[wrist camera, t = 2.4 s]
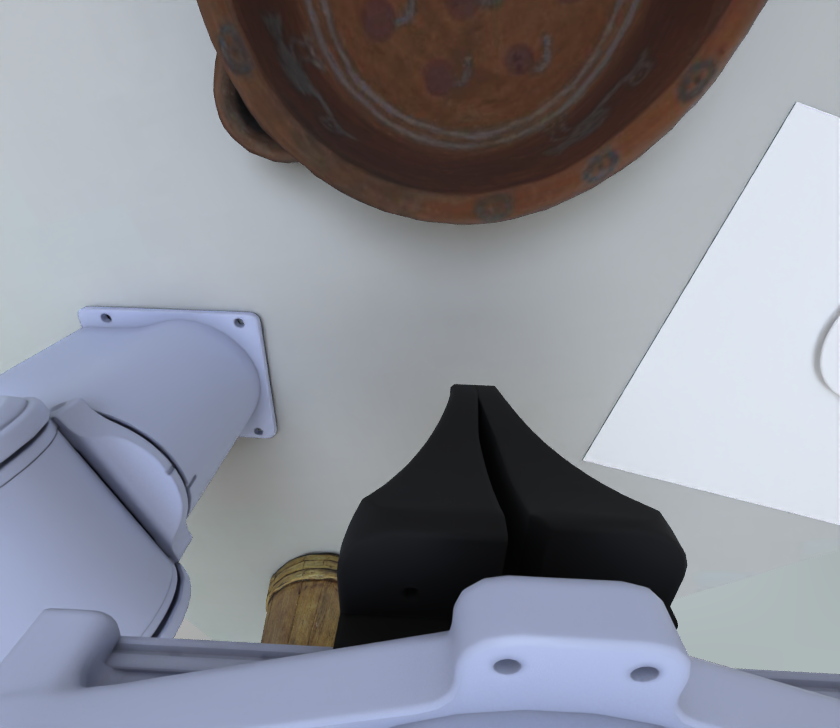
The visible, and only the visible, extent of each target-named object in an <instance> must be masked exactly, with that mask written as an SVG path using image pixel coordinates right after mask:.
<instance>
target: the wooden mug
mask: <svg viewBox="0 0 840 728" xmlns="http://www.w3.org/2000/svg"><path fill="white" fill-rule="evenodd" d="M338 559H339V556H338V555H334V554H317V555H307V556H302V557H298V558H295V559H293V560H291V561H289V562H288V563H286V564H285V565H284V566H283V567H282V568H280V569H279V570H278V571H277V572H276V573H275V574H274V575H273V577H272V578H271V580H270V585H269V590H268V595H267V600H266V612H267V615H266V620H265V625H264V630H263V635H262V640H261V643H266V644H285V645H303V646H322V647H333V646H334V641H335V636H336V631H337V626H338V621H339V616H340V606H339V595H338V584H337V565H338Z"/></svg>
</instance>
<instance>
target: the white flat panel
mask: <svg viewBox="0 0 840 728" xmlns="http://www.w3.org/2000/svg"><path fill="white" fill-rule="evenodd" d="M819 369H820V373H821V376H822V379H823V381H824V383H825V384H826V385H827V387H828V388H829V389H830V390H831V391H832V392H833V393H835V394H836V395H838V396H839V397H840V315H839V316H838V317H837V318H836V319H835V321H834V322H833V324H832V325H831V327H830V329H829V330H828V332H827V334H826V336H825V338H824V341H823V343H822V346H821V350H820V356H819Z"/></svg>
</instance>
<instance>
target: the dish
mask: <svg viewBox="0 0 840 728" xmlns="http://www.w3.org/2000/svg"><path fill="white" fill-rule="evenodd" d="M767 1H768V0H197V3H198V6H199V9H200V12H201V15H202V17H203V20H204V23H205V26H206V28H207V31H208V33H209V36H210V39H211V41H212V43H213V45H214V47H215V50H216V52H217V55H216V61H215V71H214V89H213V92H214V98H215V103H216V107H217V111H218V115H219V118H220V120H221V122H222V124H223V127H224V128H225V129H226V131H227V132H228V133H229V134H230V136H231V137H232V138H233V139H234V140H235V141H237V142H238V143H239V144H240V145H241V146H243V147H244V148H245V149H246V150H248V151H249V152H250V153H253V154H256V155H258V156H261V157H264V158H266V159H269V160H272V161H275V162H284V163H291V162H300V163H301V164H303V165H304V166H305V167H306V168H308V169H309V170H310V171H311V172H312V173H313V174H314V175H315V176H317V177H318V178H320V179H322V180H323V181H325V182H326V183H328V184H329V185H331V186H332V187H334V188H335V189H337V190H339V191H340V192H342V193H344V194H346V195H348V196H350V197H352V198H354V199H356V200H358V201H360V202H363V203H365V204H367V205H370V206H372V207H374V208H377V209H379V210H382V211H385V212H388V213H392V214H396V215H400V216H404V217H409V218H412V219H416V220H421V221H427V222H438V223H448V224H457V225H471V224H485V223H495V222H501V221H506V220H511V219H515V218H518V217H522V216H525V215H528V214H532V213H536V212H539V211H543V210H546V209H549V208H551V207H553V206H556V205H558V204H560V203H562V202H564V201H566V200H569V199H571V198H573V197H575V196H577V195H579V194H581V193H583V192H585V191H587V190H590V189H592V188H593V187H595V186H596V185H598V184H599V183H601V182H602V181H604V180H606V179H607V178H609V177H611V176H612V175H614V174H616V173H617V172H619V171H621V170H622V169H624V168H625V167H626V166H628V165H629V164H631V163H632V162H633V161H635V160H636V159H638V158H639V157H640V156H641V155H642V154H644V153H645V152H646V151H647V150H648V149H649V148H650V147H652V146H653V145H654V144H655V143H656V142H657V141H659V140H660V139H661V138H662V137H663V136H664V135H665V134H667V133H668V132H669V131H670V130H671V129H672V128H673V127H674V126H675V125H676V124H677V123H678V121H679V120H680V119H681V118H682V117H683V116H684V115H685V114H686V113H687V112H688V111H689V110H690V109H691V108H692V107H693V106H695V105H696V103H697V102H698V101H699V100H700V99H701V97H702V96H703V95H704V94H705V92H706V91H707V90H708V89H709V88H710V87H711V85H712V84H713V83H714V82H715V80H716V79H717V77H718V76H719V75H720V73H721V72H722V70H723V69H724V67H725V66H726V64H727V63H728V61H729V60H730V58H731V57H732V55H733V54H734V52H735V51H736V49H737V48H738V46H739V45H740V43H741V42H742V41H743V39H744V38H745V36H746V35H747V34H748V32H749V30H750V28H751V27H752V25H753V23H754V21H755V20H756V18H757V16H758V15H759V13H760V12H761V10H762V9H763V7H764V6H765V4H766V3H767Z"/></svg>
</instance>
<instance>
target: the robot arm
mask: <svg viewBox="0 0 840 728" xmlns="http://www.w3.org/2000/svg"><path fill="white" fill-rule="evenodd" d="M106 314H107V315H109V316H110V318H111V320H110V319H108V318H107V316H106ZM78 318H79V321H80V323H81V326H82V328H81V329H79V330H77V331H75V332H74V333H72V334H70V335H68V336H67V337H65V338H63V339H61V340H60V341H58V342H56V343H54V344H53V345H51V346H49V347H47V348H46V349H44V350H42V351H40V352H39V353H37V354H35V355H33V356H32V357H30V358H28V359H27V360H25V361H23V362H21V363H20V364H18V365H16V366H14V367H13V368H11V369H9V370H7V371H6V372H4V373H2V374H0V728H840V674H828V673H809V672H790V671H771V670H753V669H734V668H729V667H726V666H722V665H719V664H716V663H713V662H709V661H706V660H702V659H698V658H695V657H692V656H689V655H688V654H687V651H686V649H685V647H684V645H683V643H682V641H681V639H680V637H679V635H678V632H677V628H678V623H677V620H676V618H675V616H674V614H673V612H672V610H671V607H670V605H671V603H672V601H673V599H674V597H675V595H676V593H677V591H678V589H679V587H680V585H681V582H682V580H683V578H684V576H685V572H686V568H687V560H686V554H685V552H684V551H683V549H682V547H681V545H680V544H679V542H678V540H677V538H676V536H675V535H674V533H673V531H672V529H671V528H670V526H669V525H668V523H667V522H666V520H665V519H664V517H663V516H662V514H661V513H660V512H659V511H658V510H655V509H653V508H651V507H649V506H646V505H644V504H642V503H640V502H638V501H635V500H633V499H631V498H629V497H627V496H624V495H622V494H620V493H619V492H617V491H615V490H613V489H611V488H609V487H608V486H606V485H604V484H602V483H600V482H599V481H597V480H595V479H594V478H592V477H590V476H589V475H587V474H586V473H584V472H583V471H581V470H580V469H578V468H577V467H575V466H574V465H572V464H571V463H569V462H568V461H567V460H565V459H564V458H563V457H561V456H560V455H559V454H558V453H556V452H555V451H554V450H553V449H552V448H550V447H549V446H548V445H547V444H546V443H544V442H543V441H542V440H541V439H540V438H539V437H538V436H537V435H536V434H535V433H534V432H533V431H532V430H531V429H530V428H529V427H528V426H527V425H526V424H525V423H524V421H523V420H522V419H521V418H520V417H519V416H518V415H517V413H516V412H515V411H514V410H513V409H512V407H511V406H510V405H509V404H508V402H507V401H506V400H505V399H504V397H503V396H502V395H501V393H500V392H499V391H498V389H497V388H496V387H495V386H484V385H460V384H454V385H453V386H452V387H451V389H450V397H449V401H448V403H447V406H446V408H445V411H444V413H443V415H442V417H441V419H440V421H439V423H438V425H437V426H436V428H435V430H434V431H433V433H432V435H431V436H430V438H429V439H428V441H427V442H426V443H425V445H424V446H423V447H422V449H421V450H420V451H419V452H418V453H417V455H416V456H415V457H414V458H413V459H412V460H411V461H410V462H409V463H408V464H407V465H406V467H404V468H403V469H402V470H401V471H400V472H399V473H398V474H397V475H395V476H394V477H393V478H392V479H391V480H390V481H389V482H387V483H386V484H385V485H383V486H382V487H381V488H379V489H378V490H376V491H375V492H373V493H372V494H370V495H369V496H367V497H365V498H364V499H362V501H361V503H360V504H359V506H358V508H357V510H356V512H355V514H354V516H353V518H352V520H351V522H350V524H349V526H348V529H347V531H346V534H345V537H344V539H343V542H342V546H341V550H340V555H339V559H338V565H337V584H338V595H339V606H340V616H339V621H338V626H337V631H336V636H335V641H334V646H333V647H322V646H303V645H285V644H266V643H247V642H228V641H210V640H190V639H173V638H174V637H175V635H176V632H177V631H178V629H179V627H180V625H181V623H182V621H183V619H184V616H185V613H186V611H187V608H188V605H189V600H190V596H191V583H190V578H189V575H188V574H187V572H186V570H185V569H184V568H183V566H182V565H181V564H180V563H178V562H179V560H180V559H181V557H182V555H183V553H184V552H185V550H186V548H187V547H188V545H189V543H190V541H191V540H192V538H193V537H192V535H191V534H190V532H189V530H188V528H187V524H186V519H187V518H188V516H189V514H190V513H191V511H192V510H193V508H194V506H195V505H196V503H197V502H198V500H199V498H200V497H201V495H202V494H203V492H204V491H205V489H206V487H207V486H208V484H209V483H210V481H211V479H212V478H213V476H214V475H215V473H216V471H217V470H218V468H219V467H220V465H221V463H222V462H223V460H224V459H225V457H226V455H227V454H228V452H229V451H230V449H231V447H232V446H233V444H234V443H235V441H236V439H237V438H238V437H251V438H272V437H273V436H274V435H275V433H276V431H277V427H276V420H275V413H274V407H273V400H272V394H271V387H270V381H269V374H268V367H267V361H266V354H265V348H264V341H263V335H262V328H261V321H260V319H259V317H258V316H257V315H256V314H254V313H251V312H233V311H205V310H177V309H149V308H122V307H94V306H87V307H84V308H82V309H80V310H79V311H78ZM238 318H239V319H241V320H243V322H244V325H241V324H239V323H238V321H237V319H238ZM257 428H260V429H261V430H262V431H259V430H257Z"/></svg>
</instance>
